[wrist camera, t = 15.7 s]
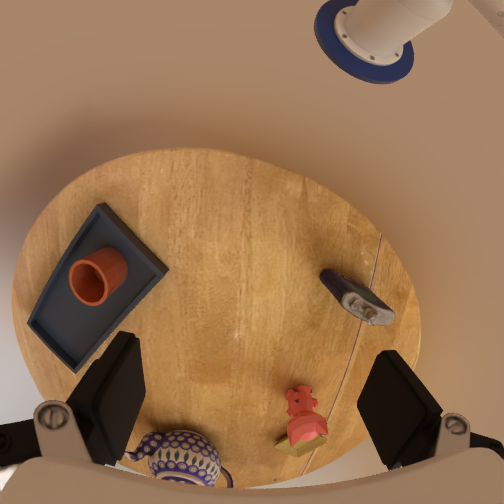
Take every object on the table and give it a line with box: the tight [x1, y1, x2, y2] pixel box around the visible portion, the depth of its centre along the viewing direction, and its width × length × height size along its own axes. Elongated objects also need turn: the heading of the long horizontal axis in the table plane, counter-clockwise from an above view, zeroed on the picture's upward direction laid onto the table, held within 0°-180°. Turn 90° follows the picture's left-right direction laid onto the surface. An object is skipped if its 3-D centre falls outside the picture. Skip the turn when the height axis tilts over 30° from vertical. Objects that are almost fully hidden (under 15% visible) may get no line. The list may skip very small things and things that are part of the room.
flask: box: [320, 268, 395, 326], centre depth 34 cm, size 9×3×11 cm, turn 63°
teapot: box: [124, 430, 233, 488], centre depth 40 cm, size 25×15×15 cm, turn 45°
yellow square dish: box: [274, 435, 328, 457], centre depth 47 cm, size 9×9×2 cm
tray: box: [27, 203, 169, 374], centre depth 37 cm, size 30×14×3 cm, turn 133°
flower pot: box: [69, 247, 128, 306], centre depth 33 cm, size 6×6×7 cm
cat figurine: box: [285, 385, 329, 448], centre depth 38 cm, size 7×7×12 cm
